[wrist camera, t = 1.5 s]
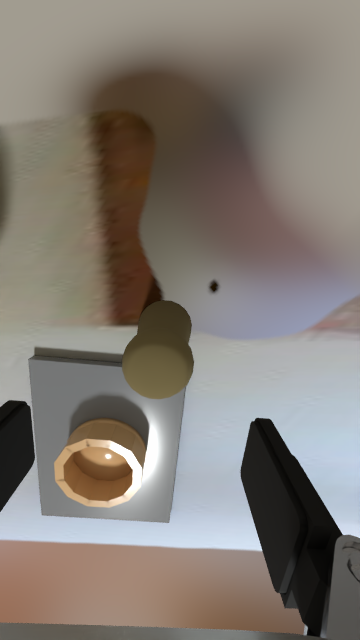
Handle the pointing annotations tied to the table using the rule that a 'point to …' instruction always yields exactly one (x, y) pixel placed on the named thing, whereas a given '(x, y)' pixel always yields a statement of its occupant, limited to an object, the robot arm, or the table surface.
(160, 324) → the cork
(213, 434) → the table surface
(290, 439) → the table surface
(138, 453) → the tan shallow bowl
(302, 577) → the robot arm
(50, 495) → the slate board
